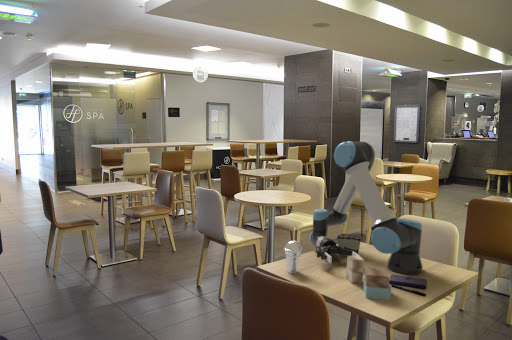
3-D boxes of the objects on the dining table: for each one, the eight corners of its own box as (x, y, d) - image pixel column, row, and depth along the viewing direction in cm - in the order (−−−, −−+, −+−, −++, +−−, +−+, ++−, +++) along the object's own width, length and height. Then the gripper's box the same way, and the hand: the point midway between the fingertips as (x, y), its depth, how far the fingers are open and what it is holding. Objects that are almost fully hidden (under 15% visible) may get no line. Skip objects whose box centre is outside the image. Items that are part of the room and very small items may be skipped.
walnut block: (385, 280, 158) (386, 269, 158) (388, 288, 150) (389, 276, 150) (364, 278, 160) (365, 267, 159) (366, 286, 152) (366, 274, 151)
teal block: (386, 291, 159) (387, 280, 158) (390, 300, 150) (391, 289, 150) (363, 289, 160) (363, 278, 160) (365, 298, 151) (366, 287, 151)
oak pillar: (356, 278, 171) (358, 255, 170) (362, 282, 166) (364, 259, 165) (345, 278, 170) (347, 255, 169) (351, 283, 165) (352, 259, 164)
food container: (360, 253, 205) (361, 234, 204) (360, 257, 199) (362, 237, 198) (335, 251, 208) (337, 232, 207) (335, 254, 202) (336, 235, 201)
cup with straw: (278, 271, 175) (280, 226, 173) (289, 266, 182) (291, 223, 180) (295, 276, 170) (297, 230, 168) (306, 270, 177) (308, 226, 175)
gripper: (349, 251, 200) (370, 266, 179) (302, 253, 194) (318, 268, 174) (350, 237, 199) (371, 250, 178) (302, 238, 194) (319, 252, 173)
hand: (345, 259), depth 176 cm, fingers open, 13 cm apart
